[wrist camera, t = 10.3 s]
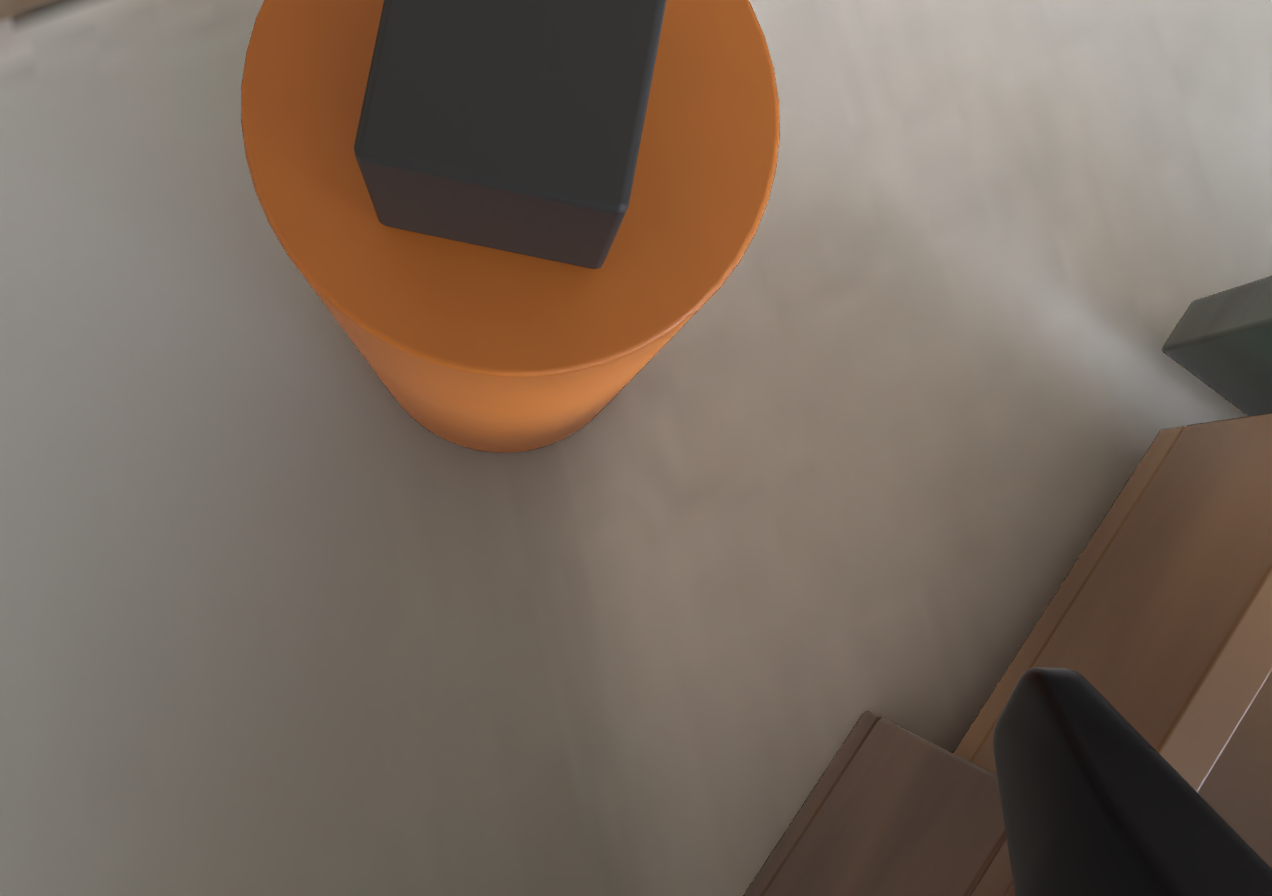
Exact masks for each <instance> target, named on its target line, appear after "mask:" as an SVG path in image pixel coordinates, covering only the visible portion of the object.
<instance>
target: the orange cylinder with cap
mask: <svg viewBox="0 0 1272 896" xmlns="http://www.w3.org/2000/svg"><path fill="white" fill-rule="evenodd" d="M241 123H242V131H243V138H244V146H245V153H246V159H247V162H248V166H249V170H250V173H251V177H252V181H253V184H254V188H255V191H256V194H257V196H258V199H259V201H260V203H261V206H262V208H263V210H264V213H265V215H266V217H267V220H268V222H269V224H270V226H271V228H272V230H273V231H274V233H275V235H276V236H277V238H278V240H279V241H280V243H281V245H282V246H283V248H284V250H285V251H286V253H287V255H288V256H289V258H290V259H291V260H292V262H293V263H294V264H295V266H296V267H297V268H298V270H299V271H300V272H301V274H302V275H303V276H304V278H305V279H306V280H307V282H308V283H309V284H310V286H311V287H312V288H313V290H314V291H315V292H316V294H317V295H318V296H319V298H320V299H321V300H322V302H323V303H324V304H325V306H326V307H327V308H328V310H329V311H330V312H331V314H332V315H333V316H334V318H335V319H336V320H337V322H338V323H339V324H340V326H341V327H342V328H343V330H344V331H345V332H346V334H347V335H348V336H349V338H350V339H351V340H352V342H353V343H354V344H355V346H356V347H357V348H358V350H359V351H360V352H361V354H362V355H363V356H364V358H365V359H366V360H367V362H368V363H369V364H370V366H371V367H372V368H373V370H374V371H375V372H376V374H377V375H378V376H379V378H380V379H381V380H382V382H383V383H384V384H385V386H386V387H387V388H388V390H389V391H390V392H391V394H392V395H393V396H394V398H395V399H396V400H397V401H398V403H399V404H400V405H401V406H402V408H403V409H404V410H405V411H406V412H407V413H408V414H409V415H411V416H412V417H413V418H414V419H415V420H416V421H417V422H418V423H420V424H421V425H422V426H424V427H425V428H427V429H428V430H429V431H431V432H433V433H434V434H436V435H438V436H440V437H442V438H443V439H445V440H448V441H450V442H453V443H455V444H458V445H460V446H463V447H467V448H471V449H475V450H479V451H487V452H496V453H504V452H520V451H528V450H533V449H537V448H540V447H544V446H548V445H550V444H552V443H555V442H557V441H560V440H562V439H564V438H566V437H568V436H569V435H571V434H573V433H574V432H576V431H578V430H579V429H581V428H582V427H583V426H585V425H586V424H587V423H588V422H590V421H591V420H592V419H593V418H594V417H595V416H596V415H597V414H598V413H599V412H600V411H601V410H602V409H603V408H604V407H605V406H606V405H607V404H608V403H609V402H610V401H611V400H612V399H613V398H614V397H615V396H616V395H617V394H618V393H619V392H620V391H621V390H622V389H623V387H624V386H625V385H626V384H627V383H628V382H629V381H630V380H631V379H632V378H633V377H634V376H635V375H636V374H637V373H638V372H639V371H640V370H641V369H642V368H643V367H644V366H645V365H646V364H647V363H648V362H649V361H650V360H651V359H652V358H653V356H654V355H655V354H656V353H657V352H658V351H659V350H660V349H661V348H662V347H663V346H664V345H665V344H666V343H667V342H668V341H669V340H670V339H671V338H672V337H673V336H674V335H675V334H676V333H677V332H678V331H679V330H680V329H681V328H682V327H683V326H684V324H685V323H686V322H687V321H688V320H689V319H690V318H691V317H692V316H693V315H694V314H695V313H696V312H697V311H698V310H699V309H700V308H701V307H702V306H703V305H704V304H705V303H706V302H707V301H708V300H709V299H710V298H711V297H712V296H713V295H714V294H715V292H716V291H717V290H718V289H719V288H720V287H721V286H722V284H723V283H724V282H725V280H726V279H727V278H728V276H729V275H730V274H731V272H732V271H733V270H734V268H735V267H736V266H737V264H738V263H739V262H740V260H741V258H742V256H743V255H744V253H745V251H746V249H747V247H748V246H749V244H750V242H751V240H752V238H753V237H754V235H755V233H756V231H757V228H758V226H759V223H760V221H761V218H762V216H763V213H764V211H765V208H766V205H767V203H768V200H769V196H770V192H771V188H772V184H773V180H774V175H775V171H776V166H777V157H778V147H779V138H780V123H779V99H778V92H777V86H776V79H775V73H774V67H773V64H772V61H771V57H770V54H769V50H768V47H767V43H766V40H765V36H764V34H763V32H762V29H761V27H760V25H759V22H758V20H757V18H756V15H755V13H754V11H753V9H752V6H751V4H750V2H749V1H748V0H264V2H263V4H262V7H261V9H260V11H259V13H258V15H257V18H256V21H255V24H254V28H253V31H252V35H251V38H250V41H249V45H248V48H247V52H246V59H245V66H244V73H243V80H242V86H241Z"/></svg>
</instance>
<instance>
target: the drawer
mask: <svg viewBox="0 0 1272 896" xmlns="http://www.w3.org/2000/svg"><path fill="white" fill-rule="evenodd" d="M1162 351H1163V352H1164V353H1165V354H1167V355H1168V356H1169V357H1171V358H1172V359H1173V360H1175V361H1176V362H1177V363H1179V364H1180V365H1181V366H1183V367H1184V368H1185V369H1187V370H1188V371H1189V372H1191V373H1192V374H1193V375H1195V376H1196V377H1197V378H1199V379H1200V380H1201V381H1203V382H1204V383H1205V384H1207V385H1208V386H1209V387H1211V388H1212V389H1213V390H1215V391H1216V392H1217V393H1219V394H1220V395H1221V396H1223V397H1224V398H1225V399H1226V400H1228V401H1229V402H1230V403H1232V404H1233V405H1234V406H1236V407H1237V408H1238V409H1240V410H1241V411H1242V412H1244V413H1245V414H1246V415H1248V416H1249V417H1242V418H1235V419H1228V420H1221V421H1214V422H1207V423H1200V424H1193V425H1188V426H1186V427H1185V426H1181V427H1174V428H1167V429H1162V430H1161V431H1160V432H1159V433H1158V435H1157V437H1156V438H1155V440H1154V441H1153V443H1152V444H1151V446H1150V447H1149V449H1148V451H1147V452H1146V454H1145V455H1144V457H1143V458H1142V460H1141V461H1140V463H1139V465H1138V466H1137V468H1136V469H1135V471H1134V472H1133V474H1132V475H1131V477H1130V479H1129V480H1128V482H1127V483H1126V485H1125V486H1124V488H1123V489H1122V491H1121V493H1120V494H1119V496H1118V497H1117V499H1116V500H1115V502H1114V504H1113V505H1112V507H1111V508H1110V510H1109V511H1108V513H1107V514H1106V516H1105V518H1104V519H1103V521H1102V522H1101V524H1100V525H1099V527H1098V528H1097V530H1096V532H1095V533H1094V535H1093V536H1092V538H1091V539H1090V541H1089V542H1088V544H1087V546H1086V547H1085V549H1084V550H1083V552H1082V553H1081V555H1080V556H1079V558H1078V560H1077V561H1076V563H1075V564H1074V566H1073V567H1072V569H1071V571H1070V572H1069V574H1068V575H1067V577H1066V578H1065V580H1064V581H1063V583H1062V585H1061V586H1060V588H1059V589H1058V591H1057V592H1056V594H1055V595H1054V597H1053V599H1052V600H1051V602H1050V603H1049V605H1048V606H1047V608H1046V609H1045V611H1044V613H1043V614H1042V616H1041V617H1040V619H1039V620H1038V622H1037V624H1036V625H1035V627H1034V628H1033V630H1032V631H1031V633H1030V634H1029V636H1028V638H1027V639H1026V641H1025V642H1024V644H1023V645H1022V647H1021V648H1020V650H1019V652H1018V653H1017V655H1016V656H1015V658H1014V659H1013V661H1012V662H1011V664H1010V666H1009V667H1008V669H1007V670H1006V672H1005V673H1004V675H1003V676H1002V678H1001V680H1000V681H999V683H998V684H997V686H996V687H995V689H994V691H993V692H992V694H991V695H990V697H989V698H988V700H987V701H986V703H985V705H984V706H983V708H982V709H981V711H980V712H979V714H978V715H977V717H976V719H975V720H974V722H973V723H972V725H971V726H970V728H969V729H968V731H967V733H966V734H965V736H964V737H963V739H962V740H961V742H960V743H959V745H958V747H957V748H956V750H955V751H954V754H956V755H958V756H960V757H962V758H964V759H966V760H968V761H970V762H972V763H974V764H976V765H978V766H980V767H982V768H984V769H986V770H988V771H990V772H993V773H995V774H996V767H995V761H994V754H993V732H994V727H995V724H996V721H997V719H998V717H999V716H1000V714H1001V712H1002V710H1003V708H1004V706H1005V704H1006V702H1007V701H1008V699H1009V697H1010V695H1011V693H1012V691H1013V689H1014V687H1015V686H1016V684H1017V682H1018V680H1019V678H1020V676H1021V675H1022V674H1023V672H1025V671H1026V670H1028V669H1029V668H1033V667H1046V668H1067V669H1072V670H1075V671H1077V672H1078V673H1080V674H1081V675H1083V676H1084V677H1085V678H1086V679H1087V680H1088V681H1089V682H1090V683H1091V684H1092V685H1093V686H1094V687H1095V688H1096V689H1097V690H1098V691H1099V692H1100V693H1101V694H1102V695H1103V696H1104V697H1105V698H1106V699H1107V701H1108V702H1109V703H1110V704H1111V705H1112V706H1113V707H1114V708H1115V709H1116V710H1117V711H1118V712H1119V713H1120V714H1121V715H1122V716H1123V717H1124V718H1125V719H1126V720H1127V721H1128V722H1129V723H1130V724H1131V725H1132V726H1133V727H1134V728H1135V729H1136V730H1137V731H1138V732H1139V733H1140V734H1141V735H1142V736H1143V737H1144V738H1145V739H1146V740H1147V741H1148V742H1149V743H1150V745H1151V746H1152V747H1153V748H1154V749H1155V750H1156V751H1157V752H1158V753H1159V754H1160V755H1161V756H1162V757H1163V758H1164V759H1165V760H1166V761H1167V762H1168V763H1169V764H1170V765H1171V766H1172V767H1173V768H1174V769H1175V770H1176V771H1177V772H1178V773H1179V774H1180V775H1181V776H1182V777H1183V778H1184V779H1185V780H1186V781H1187V782H1188V783H1189V784H1190V785H1191V786H1192V787H1193V789H1194V790H1195V791H1196V792H1197V793H1198V794H1199V795H1200V796H1201V797H1202V798H1203V799H1204V800H1205V801H1206V802H1207V803H1208V804H1209V805H1210V806H1211V807H1212V808H1213V809H1214V810H1215V811H1216V812H1217V813H1218V814H1219V815H1220V816H1221V817H1222V818H1223V819H1224V820H1225V821H1226V822H1227V823H1228V824H1229V825H1230V826H1231V827H1232V828H1233V829H1234V830H1235V831H1236V832H1237V834H1238V835H1239V836H1240V837H1241V838H1242V839H1243V840H1244V841H1245V842H1246V843H1247V844H1248V845H1249V846H1250V847H1251V848H1252V849H1253V850H1254V851H1255V852H1256V853H1257V854H1258V855H1259V856H1260V857H1261V858H1262V859H1263V860H1264V861H1265V862H1266V863H1267V864H1268V865H1269V866H1270V867H1271V868H1272V276H1269V277H1266V278H1263V279H1260V280H1257V281H1254V282H1251V283H1247V284H1244V285H1241V286H1238V287H1235V288H1232V289H1229V290H1225V291H1222V292H1219V293H1216V294H1213V295H1210V296H1207V297H1204V298H1200V299H1197V300H1194V301H1193V302H1191V304H1190V305H1189V307H1188V309H1187V310H1186V312H1185V313H1184V315H1183V316H1182V318H1181V319H1180V321H1179V322H1178V324H1177V325H1176V327H1175V329H1174V330H1173V332H1172V333H1171V335H1170V336H1169V338H1168V339H1167V341H1166V342H1165V344H1164V346H1163V347H1162Z"/></svg>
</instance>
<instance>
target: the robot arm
mask: <svg viewBox="0 0 1272 896" xmlns="http://www.w3.org/2000/svg"><path fill="white" fill-rule="evenodd" d="M993 754H994V761H995V767H996V774H997V780H998V787H999V793H1000V800H1001V806H1002V813H1003V819H1004V826H1005V832H1006V839H1007V845H1008V852H1009V858H1010V864H1011V871H1012V877H1013V884H1014V890H1015V896H1272V868H1271V867H1270V866H1269V865H1268V864H1267V863H1266V862H1265V861H1264V860H1263V859H1262V858H1261V857H1260V856H1259V855H1258V854H1257V853H1256V852H1255V851H1254V850H1253V849H1252V848H1251V847H1250V846H1249V845H1248V844H1247V843H1246V842H1245V841H1244V840H1243V839H1242V838H1241V837H1240V836H1239V835H1238V834H1237V832H1236V831H1235V830H1234V829H1233V828H1232V827H1231V826H1230V825H1229V824H1228V823H1227V822H1226V821H1225V820H1224V819H1223V818H1222V817H1221V816H1220V815H1219V814H1218V813H1217V812H1216V811H1215V810H1214V809H1213V808H1212V807H1211V806H1210V805H1209V804H1208V803H1207V802H1206V801H1205V800H1204V799H1203V798H1202V797H1201V796H1200V795H1199V794H1198V793H1197V792H1196V791H1195V790H1194V789H1193V787H1192V786H1191V785H1190V784H1189V783H1188V782H1187V781H1186V780H1185V779H1184V778H1183V777H1182V776H1181V775H1180V774H1179V773H1178V772H1177V771H1176V770H1175V769H1174V768H1173V767H1172V766H1171V765H1170V764H1169V763H1168V762H1167V761H1166V760H1165V759H1164V758H1163V757H1162V756H1161V755H1160V754H1159V753H1158V752H1157V751H1156V750H1155V749H1154V748H1153V747H1152V746H1151V745H1150V743H1149V742H1148V741H1147V740H1146V739H1145V738H1144V737H1143V736H1142V735H1141V734H1140V733H1139V732H1138V731H1137V730H1136V729H1135V728H1134V727H1133V726H1132V725H1131V724H1130V723H1129V722H1128V721H1127V720H1126V719H1125V718H1124V717H1123V716H1122V715H1121V714H1120V713H1119V712H1118V711H1117V710H1116V709H1115V708H1114V707H1113V706H1112V705H1111V704H1110V703H1109V702H1108V701H1107V699H1106V698H1105V697H1104V696H1103V695H1102V694H1101V693H1100V692H1099V691H1098V690H1097V689H1096V688H1095V687H1094V686H1093V685H1092V684H1091V683H1090V682H1089V681H1088V680H1087V679H1086V678H1085V677H1084V676H1083V675H1081V674H1080V673H1078V672H1077V671H1075V670H1072V669H1067V668H1046V667H1033V668H1029V669H1028V670H1026V671H1025V672H1023V674H1022V675H1021V676H1020V678H1019V680H1018V682H1017V684H1016V686H1015V687H1014V689H1013V691H1012V693H1011V695H1010V697H1009V699H1008V701H1007V702H1006V704H1005V706H1004V708H1003V710H1002V712H1001V714H1000V716H999V717H998V719H997V721H996V724H995V727H994V732H993Z"/></svg>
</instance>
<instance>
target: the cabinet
mask: <svg viewBox="0 0 1272 896" xmlns="http://www.w3.org/2000/svg"><path fill="white" fill-rule="evenodd" d="M744 896H1015V890H1014V884H1013V877H1012V871H1011V864H1010V858H1009V852H1008V845H1007V839H1006V832H1005V826H1004V819H1003V813H1002V806H1001V800H1000V793H999V787H998V780H997V774H995V773H993V772H990V771H988V770H986V769H984V768H982V767H980V766H978V765H976V764H974V763H972V762H970V761H968V760H966V759H964V758H962V757H960V756H958V755H956V754H954V753H952V752H950V751H948V750H946V749H944V748H942V747H940V746H938V745H936V744H934V743H932V742H930V741H927V740H925V739H923V738H921V737H919V736H917V735H915V734H913V733H911V732H909V731H907V730H905V729H903V728H901V727H899V726H897V725H895V724H893V723H891V722H889V721H887V720H885V719H883V718H881V717H879V716H877V715H875V714H873V713H871V712H869V711H865V712H864V713H863V714H862V716H861V717H860V719H859V721H858V722H857V724H856V725H855V727H854V728H853V730H852V731H851V733H850V734H849V736H848V737H847V739H846V740H845V742H844V743H843V745H842V746H841V748H840V749H839V751H838V753H837V754H836V756H835V757H834V759H833V760H832V762H831V763H830V765H829V766H828V768H827V769H826V771H825V772H824V774H823V775H822V777H821V778H820V780H819V781H818V783H817V785H816V786H815V788H814V789H813V791H812V792H811V794H810V795H809V797H808V798H807V800H806V801H805V803H804V804H803V806H802V807H801V809H800V810H799V812H798V813H797V815H796V817H795V818H794V820H793V821H792V823H791V824H790V826H789V827H788V829H787V830H786V832H785V833H784V835H783V836H782V838H781V839H780V841H779V842H778V844H777V845H776V847H775V849H774V850H773V852H772V853H771V855H770V856H769V858H768V859H767V861H766V862H765V864H764V865H763V867H762V868H761V870H760V871H759V873H758V874H757V876H756V877H755V879H754V881H753V882H752V884H751V885H750V887H749V888H748V890H747V891H746V893H745V894H744Z"/></svg>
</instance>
